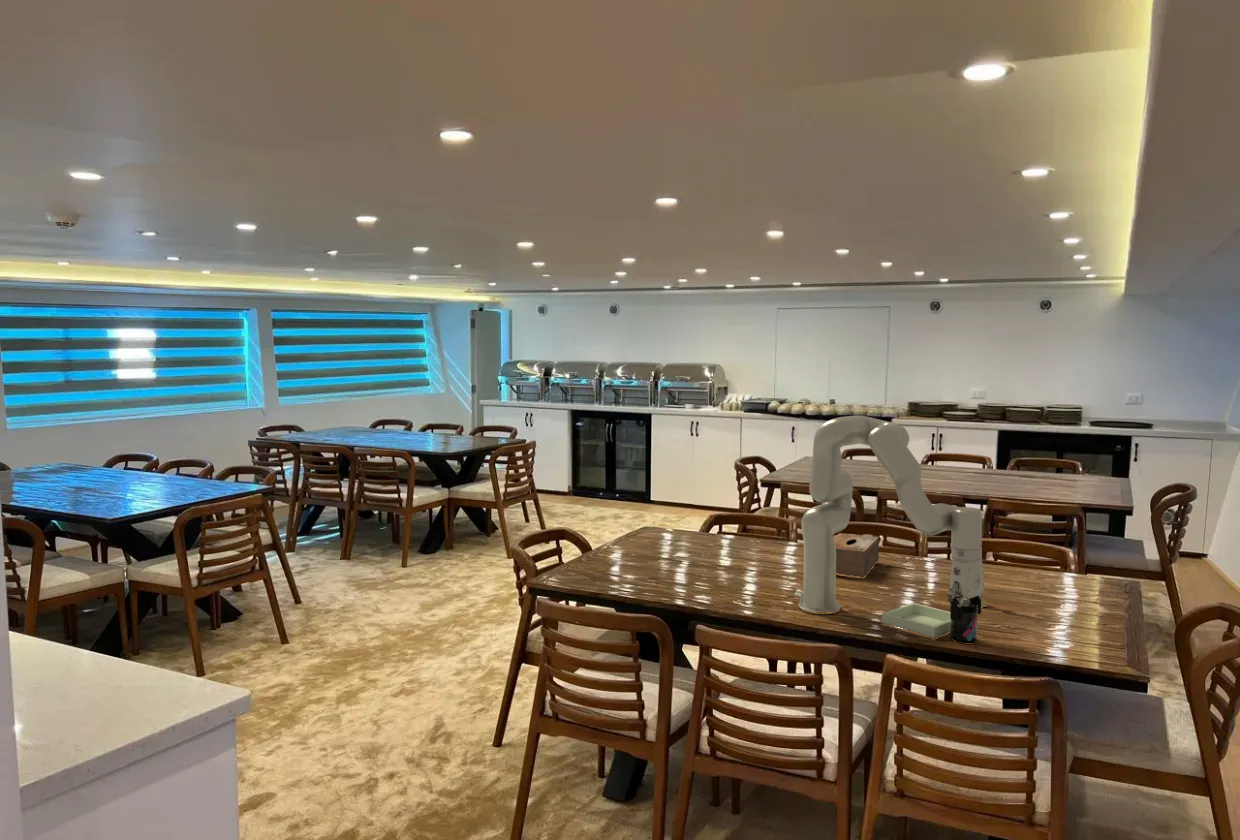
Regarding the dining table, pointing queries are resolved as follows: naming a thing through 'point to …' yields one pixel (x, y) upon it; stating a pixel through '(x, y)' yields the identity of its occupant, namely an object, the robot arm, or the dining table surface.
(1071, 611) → the dining table surface
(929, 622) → the tray
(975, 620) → the supplement container
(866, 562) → the tissue box cover
